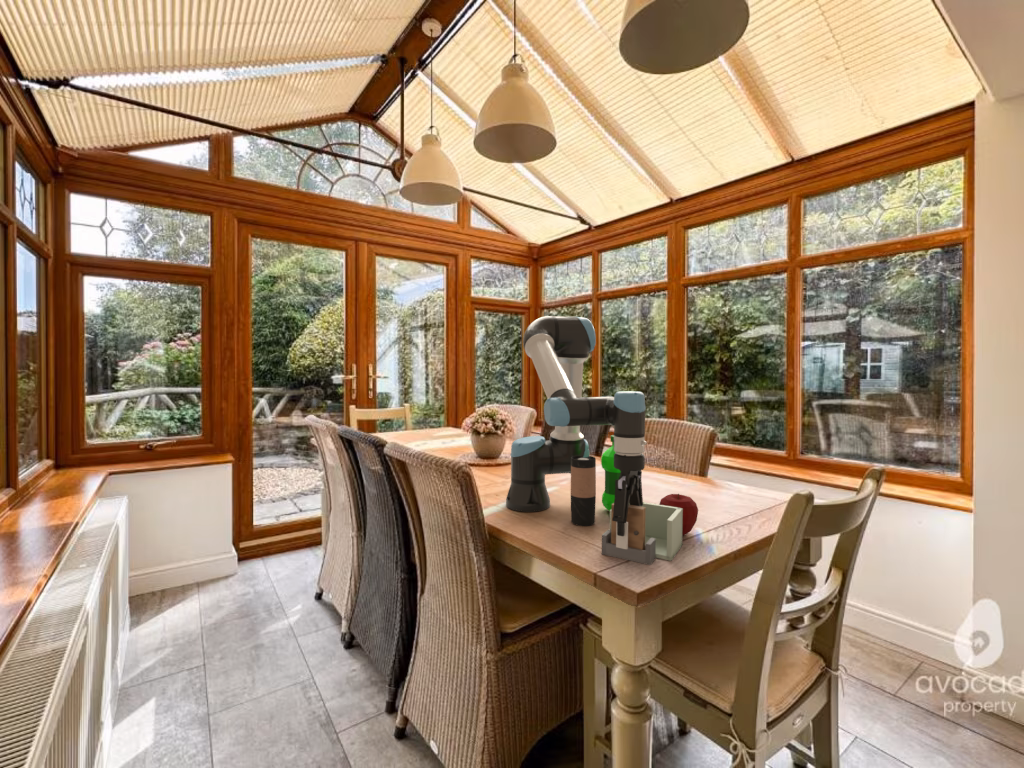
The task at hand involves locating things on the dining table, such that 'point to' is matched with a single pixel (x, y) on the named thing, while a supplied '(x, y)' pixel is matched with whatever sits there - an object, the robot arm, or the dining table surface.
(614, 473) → the plastic bottle
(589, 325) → the robot arm
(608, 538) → the cabinet
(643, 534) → the door panel
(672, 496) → the apple
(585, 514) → the travel mug
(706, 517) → the dining table surface
